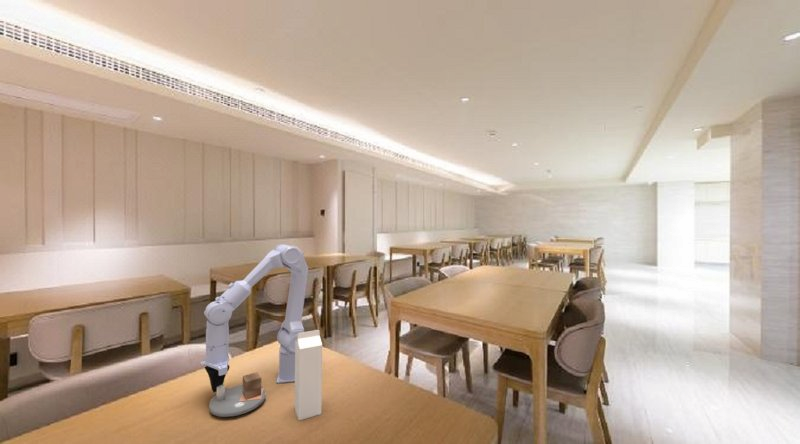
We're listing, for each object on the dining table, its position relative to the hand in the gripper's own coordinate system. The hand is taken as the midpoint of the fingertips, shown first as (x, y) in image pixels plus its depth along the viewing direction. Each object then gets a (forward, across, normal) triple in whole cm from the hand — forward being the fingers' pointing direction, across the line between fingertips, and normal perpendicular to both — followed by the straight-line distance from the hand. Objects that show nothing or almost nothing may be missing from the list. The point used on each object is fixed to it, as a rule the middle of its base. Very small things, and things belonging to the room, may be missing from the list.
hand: (216, 390), depth 90 cm
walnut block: (0, +8, +7) cm, 11 cm away
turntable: (+3, +6, +4) cm, 8 cm away
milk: (+3, +22, +17) cm, 28 cm away
